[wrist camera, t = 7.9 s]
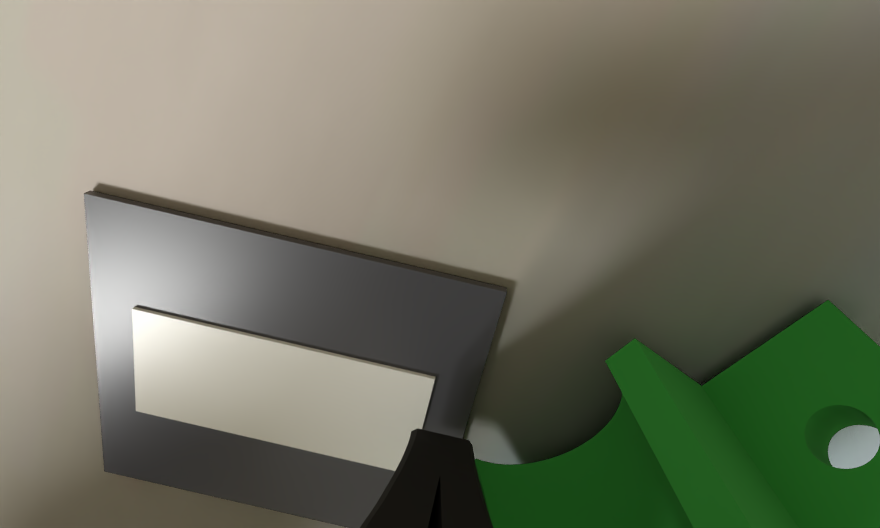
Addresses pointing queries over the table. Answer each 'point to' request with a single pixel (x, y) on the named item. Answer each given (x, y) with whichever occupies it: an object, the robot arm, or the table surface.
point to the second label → (272, 359)
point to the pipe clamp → (715, 443)
